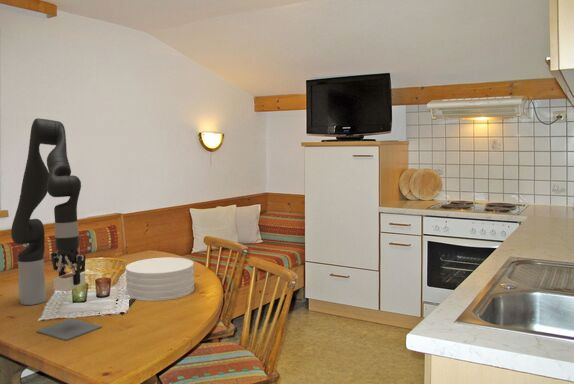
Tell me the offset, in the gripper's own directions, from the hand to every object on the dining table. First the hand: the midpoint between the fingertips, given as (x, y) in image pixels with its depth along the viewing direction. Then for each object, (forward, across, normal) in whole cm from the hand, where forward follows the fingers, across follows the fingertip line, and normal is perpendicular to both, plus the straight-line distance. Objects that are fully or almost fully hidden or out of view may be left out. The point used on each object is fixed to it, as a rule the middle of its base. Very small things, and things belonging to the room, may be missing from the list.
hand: (69, 283), depth 183 cm
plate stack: (+16, +2, -49) cm, 52 cm away
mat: (+16, 0, +1) cm, 16 cm away
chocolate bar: (+16, +3, -24) cm, 30 cm away
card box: (+1, 0, 0) cm, 1 cm away
